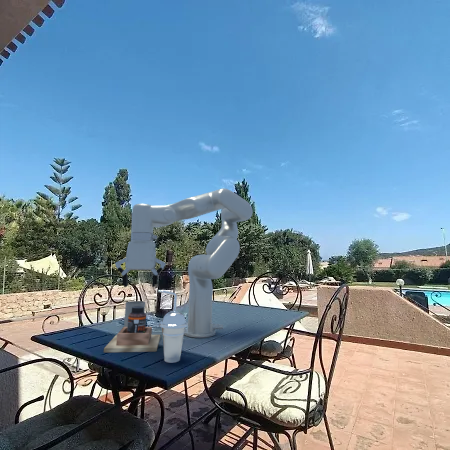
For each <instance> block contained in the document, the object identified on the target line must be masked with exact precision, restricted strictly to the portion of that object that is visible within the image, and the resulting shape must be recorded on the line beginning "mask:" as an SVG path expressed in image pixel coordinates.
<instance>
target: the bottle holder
mask: <svg viewBox="0 0 450 450" xmlns="http://www.w3.org/2000/svg"><path fill="white" fill-rule="evenodd" d="M127 328H128V327H124V326H123V327H122V328H121V329H120V330H119V331H118V333H117V334H116V335H115V336H113V338H112V339H110V341H109V342H108V343H107V344H106V346H105V347H104V348H103V353H105V354H106V353H142V352H144V353H145V352H157V351H158V347H159V344H160V340H161V334H152V332H153V326H145V333H127Z"/></svg>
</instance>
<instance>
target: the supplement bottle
mask: <svg viewBox="0 0 450 450" xmlns="http://www.w3.org/2000/svg"><path fill="white" fill-rule="evenodd" d="M146 320H147V314H146V312H145V313H144V307H143V306H134V307H132V312H131V313H130V314H129V316H128V328H127V333H145V327H146V325H147V324H146V323H147V322H146Z"/></svg>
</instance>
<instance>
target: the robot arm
mask: <svg viewBox="0 0 450 450" xmlns="http://www.w3.org/2000/svg"><path fill="white" fill-rule="evenodd" d="M219 210H221V212H220V218H221V226H220V227H221V228H220V229H219V231H218V232H216V234H215V235H214V236H213V237H212V238H211V240H209V242H208V243H207V245H206V246H205V247H206V248H205V252H206V254H197V255H194V256H193V257H191V259H189V261H188V265H187V272H188V279H189V280H188V281H189V291H188V292H189V294H188V312H187V313H188V318H187V322H188V326H187V328H185V333H184V336H186V337H190V338H196V339H197V338H200V339H201V338H211V337H212V336H215V335H216V330H219V331H221V330H224V324H221V323H213V320H212V319H213V293H214V291H213V290H214V287H213V281H212V280H217V279H220V278H221V277H222V276H224V275H225V273H226V272H227V271H228V269H230V267H231V266H232V265H233V263H234V262H235V261H236V260H237V258H238V256H239V254H240V247H241V246H240V242H239V240H238V236H239V229H238V224H237V223H239V222H245V221H248V220H250V219H251V218H252V216H253V208H252V205H251V204H250V203H249V202H248V201H247V199H246V200H245V199H244V198H243V197H241V195H238V194H237V193H235V192H234V191H232V190H230V189H228V188H220V189H216V190H212V191H209V192H205V193H202V194H198V195H194V196H190V197H186V198H184V199H181V200H179V201H177V202H174V203H172V204H168V205H167V204H166V205H151V204H149V203H136V204H134V205H133V206H132V210H131V212H132V213H131V229H130V230H131V232H130V234H131V235H130V241H129V242H128V245H127V249H126V255H125V258H122V259H120V260H118V261H116V262H115V263H114V264H115V267H116V269H117V271H118V273H120V274H121V276H122V280H121V281H122V282H121V285H123V288H127V287H128V285H129V275H128V273H129V272H130V271H151V272H152V274H153V275H152V287H153V288H154V287H156V285H158V275H159V274H160V273H161V272H162V271H163V270H164V268H165V266H166V265H167V263H166V262H164V261H162V260H160V259H159V258H157V255H156V254H157V250H156V249H157V247H156V243H155V242H153V241H154V240H157V239H158V235H155V234H154V228H160V227H166V226H169V225H172V224H173V223H175V222H178V221H183V220H190V219H195V218H198V217H201V216H203V215H207V214H210V213H212V212H216V211H219ZM122 264H125V269H124V268H123V267H122ZM157 264H159V265H160V267H159V268H158V269H156V266H157Z"/></svg>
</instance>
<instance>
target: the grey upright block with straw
mask: <svg viewBox="0 0 450 450" xmlns="http://www.w3.org/2000/svg"><path fill="white" fill-rule="evenodd" d="M157 293H162V294H166V295H171V296H174V297H173V310H171V311H169V312H167V313H166V314H165V315H164V316H163V318H162V321H160V322H159V327H160V328H161V333H162V340H163V342H162V343H163V356H164V357H163V358H164V359H163V360H164V362H166V363H177V362H179V361H181V354H182V347H183V342H184V336H185V335H184V333H185V329H187V328H188V320H186V317H185V315H184V314H183V313H182V312H180V311H178V310H177V301H178V300H177V299H178V296H177V294H176V293H175V292H173V291H168V290H162V289H158V291H157Z"/></svg>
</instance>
